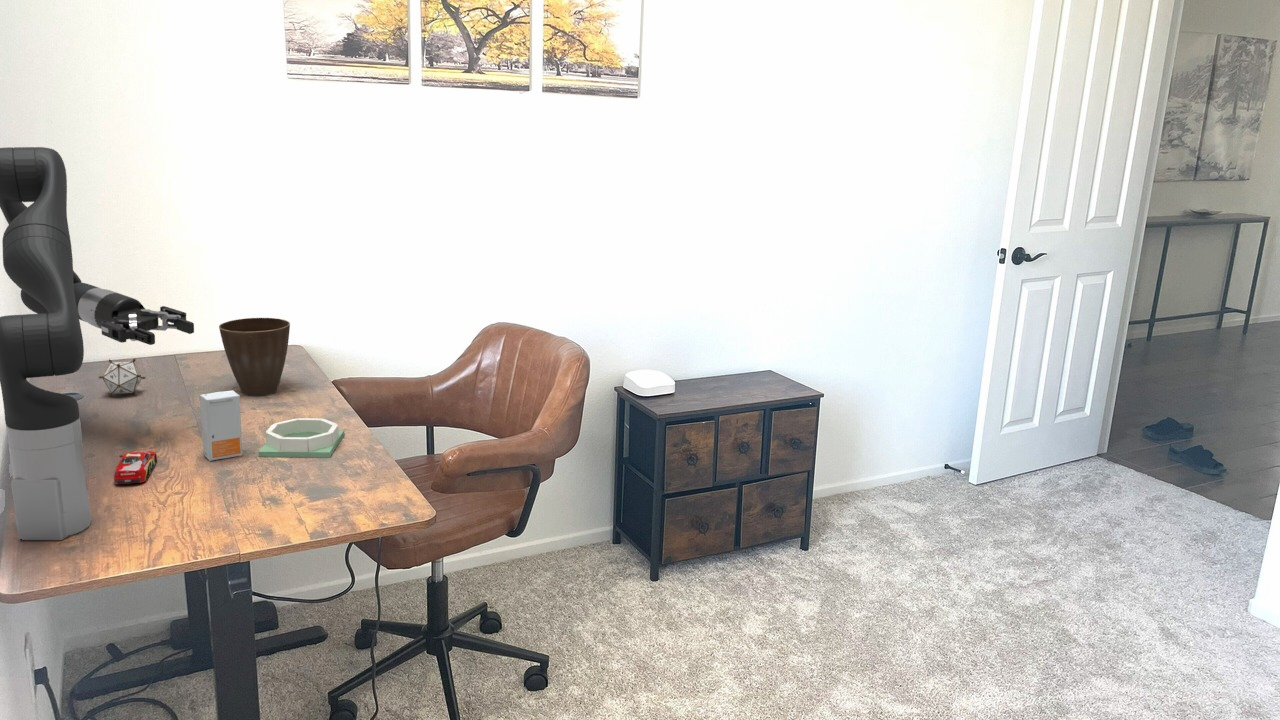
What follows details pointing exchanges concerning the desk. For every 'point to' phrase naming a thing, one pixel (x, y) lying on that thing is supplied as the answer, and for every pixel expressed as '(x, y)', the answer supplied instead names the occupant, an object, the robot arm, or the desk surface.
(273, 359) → the plant pot
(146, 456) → the race car
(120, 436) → the desk surface
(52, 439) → the robot arm
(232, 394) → the skincare box
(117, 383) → the game die
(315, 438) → the octagonal rimmed tray
